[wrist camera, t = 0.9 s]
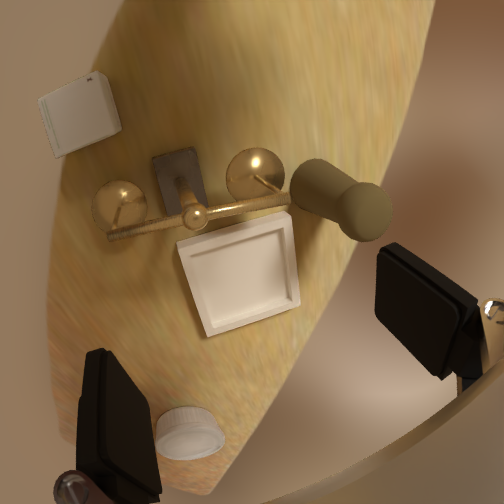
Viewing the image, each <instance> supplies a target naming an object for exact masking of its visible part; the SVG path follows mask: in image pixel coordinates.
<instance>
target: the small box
mask: <svg viewBox="0 0 504 504" xmlns="http://www.w3.org/2000/svg"><path fill="white" fill-rule="evenodd" d="M37 101H38V105H39V109H40V113H41V116H42V120H43V123H44V126H45V129H46V133H47V136H48V139H49V142H50V145H51V148H52V150H53V153H54V156H55V158H59V157H62V156H64V155H66V154H69V153H71V152H73V151H76V150H78V149H81V148H83V147H86V146H88V145H91V144H93V143H95V142H98V141H100V140H103V139H105V138H107V137H110V136H112V135H115V134H116V133H118V132H120V131H121V130H122V126H121V122H120V119H119V115H118V112H117V109H116V105H115V102H114V98H113V95H112V91H111V88H110V85H109V81H108V78H107V77H106V76H105V75H103V74H102V73H101V72H99V71H94V72H92V73H90V74H87V75H85V76H83V77H81V78H79V79H77V80H74V81H72V82H70V83H68V84H66V85H64V86H62V87H60V88H58V89H56V90H54V91H52V92H50V93H48V94H46V95H45V96H43V97H41V98H39V99H38V100H37Z"/></svg>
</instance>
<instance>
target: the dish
mask: <svg viewBox="0 0 504 504" xmlns="http://www.w3.org/2000/svg"><path fill="white" fill-rule="evenodd" d="M176 244H177V249H178V252H179V255H180V258H181V261H182V265H183V268H184V271H185V274H186V277H187V280H188V283H189V286H190V289H191V292H192V295H193V298H194V301H195V304H196V306H197V309H198V312H199V315H200V318H201V321H202V323H203V326H204V329H205V332H206V334H207V337H210V336H213V335H216V334H219V333H222V332H225V331H228V330H232V329H235V328H238V327H241V326H244V325H247V324H249V323H252V322H255V321H258V320H261V319H264V318H267V317H270V316H273V315H275V314H278V313H281V312H284V311H287V310H289V309H292V308H295V307H298V306H300V305H301V303H300V292H299V282H298V272H297V263H296V253H295V244H294V236H293V227H292V219H291V216H290V215H289V214H288V213H287V212H285V211H281V212H278V213H274V214H270V215H267V216H263V217H260V218H256V219H253V220H249V221H246V222H242V223H239V224H235V225H232V226H228V227H225V228H221V229H218V230H215V231H211V232H208V233H204V234H201V235H198V236H194V237H191V238H188V239H184V240H181V241H178V242H176Z"/></svg>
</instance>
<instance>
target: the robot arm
mask: <svg viewBox="0 0 504 504" xmlns="http://www.w3.org/2000/svg"><path fill="white" fill-rule="evenodd" d="M477 303H478V299H476V298H475V297H474V296H472V295H471V294H470V293H468V292H467V291H466V290H464V289H463V288H461V287H460V286H459V285H458V284H456V283H455V282H453V281H452V280H450V279H449V278H448V277H446V276H445V275H444V274H442V273H441V272H439V271H438V270H437V269H435V268H434V267H432V266H431V265H429V264H428V263H426V262H425V261H423V260H422V259H420V258H419V257H417V256H416V255H414V254H413V253H412V252H410V251H408V250H407V249H405V248H404V247H402V246H401V245H399V244H398V243H396V242H394V243H391V244H389V245H386V246H384V247H382V248H381V249H380V251H379V253H378V255H377V270H376V295H375V315H376V317H377V318H378V320H379V321H380V322H381V323H382V324H383V325H384V326H385V327H386V328H387V329H388V330H389V331H390V332H391V333H392V334H393V335H394V336H395V337H396V338H397V339H398V340H399V341H400V342H401V343H402V344H403V345H404V346H405V347H406V348H407V349H408V350H409V352H411V354H412V355H413V356H414V357H415V358H416V359H417V360H418V361H419V362H420V363H421V364H422V365H423V366H424V367H425V368H426V369H427V370H428V371H429V372H430V373H431V374H432V375H433V376H437V377H438V378H439V379H440V380H441V381H442V380H443V379H444V378H446V377H447V376H448V375H450V374H451V373H452V371H453V372H454V373H455V374H456V377H457V397H456V398H455V399H454V400H453V401H451V402H450V403H449V404H447V405H446V406H445V407H444V408H442V409H441V410H440V411H438V412H437V413H436V414H434V415H433V416H432V417H430V418H429V419H427V420H426V421H424V422H423V423H422V424H420V425H419V426H417V427H416V428H414V429H413V430H411V431H410V432H408V433H407V434H405V435H404V436H402V437H401V438H399V439H397V440H396V441H394V442H393V443H391V444H389V445H388V446H386V447H384V448H383V449H381V450H379V451H378V452H376V453H374V454H372V455H371V456H369V457H367V458H365V459H363V460H362V461H360V462H358V463H356V464H354V465H352V466H350V467H349V468H346V469H344V470H342V471H341V472H338V473H336V474H334V475H332V476H330V477H328V478H325V479H323V480H321V481H319V482H317V483H314V484H312V485H310V486H307V487H305V488H303V489H300V490H297V491H295V492H292V493H290V494H287V495H285V496H282V497H279V498H276V499H274V500H271V501H268V502H265V503H262V504H504V300H502V299H500V298H489V299H486V300H485V301H483V303H482V304H481V306H480V307H479V306H478V305H477ZM159 494H162V485H161V480H160V475H159V469H158V464H157V458H156V452H155V445H154V439H153V432H152V424H151V417H150V408H149V404H148V402H147V400H146V398H145V397H144V395H143V394H142V393H141V391H140V390H139V389H138V388H137V386H136V385H135V384H134V382H133V381H132V380H131V378H130V377H129V375H128V374H127V373H126V371H125V370H124V369H123V367H122V366H121V364H120V363H119V361H118V360H117V359H116V357H115V356H114V354H113V353H112V352H111V351H106V350H105V349H104V348H100V349H96V350H93V351H89V352H87V354H86V359H85V367H84V376H83V385H82V395H81V397H80V398H79V404H78V418H77V438H76V470H69V471H66V472H64V473H63V474H61V475H60V476H59V477H58V479H57V480H56V482H55V485H54V490H53V495H54V500H55V502H56V504H150V503H156V502H160V499H159Z"/></svg>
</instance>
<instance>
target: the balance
mask: <svg viewBox="0 0 504 504" xmlns="http://www.w3.org/2000/svg"><path fill="white" fill-rule="evenodd" d="M152 160H153V164H154V168H155V172H156V175H157V179H158V183H159V186H160V190H161V194H162V197H163V201H164V204H165V208H166V211H167V215H168V216H167V217H163V218H158V219H154V220H150V221H145V222H144V220H145V217H146V213H147V202H146V198H145V196H144V194H143V192H142V191H141V189H140V188H139V187H138V186H136V185H135V184H133V183H131V182H129V181H126V180H114V181H111V182H108V183H106V184H105V185H103V186H102V187H101V188H100V189H99V190H98V192H97V193H96V195H95V197H94V199H93V203H92V215H93V218H94V220H95V222H96V224H97V225H98V226H99V228H100V229H101V230H103V231H104V232H106V233H107V238H108V240H109V242H113V241H117V240H121V239H125V238H130V237H134V236H138V235H143V234H147V233H151V232H156V231H160V230H165V229H169V228H174V227H178V226H183V225H184V226H185V227H186V228H188V229H190V230H193V231H196V230H200V229H202V228H204V227H205V226H206V224H207V223H208V220H212V219H216V218H221V217H226V216H231V215H236V214H241V213H246V212H252V211H257V210H262V209H267V208H273V207H278V206H283V205H289V204H291V197H290V194H289V192H286V193H284V192H282V191H281V189H282V187H283V184H284V179H285V172H284V167H283V164H282V162H281V160H280V159H279V158H278V157H277V156H276V155H275V154H274V153H273V152H271V151H269V150H267V149H263V148H249V149H246V150H243V151H242V152H240V153H239V154H237V155H236V156H235V157H234V158H233V159H232V161H231V162H230V164H229V166H228V168H227V172H226V185H227V188H228V191H229V192H230V194H231V195H232V197H233V198H234V199H235V200H236V201H238V202H233V203H228V204H223V205H218V206H213V207H209V206H208V202H207V198H206V193H205V189H204V185H203V180H202V176H201V172H200V167H199V163H198V158H197V154H196V149H195V147H194V146H193V147H189V148H185V149H181V150H177V151H174V152H170V153H167V154H163V155H160V156H156V157H153V158H152Z"/></svg>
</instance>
